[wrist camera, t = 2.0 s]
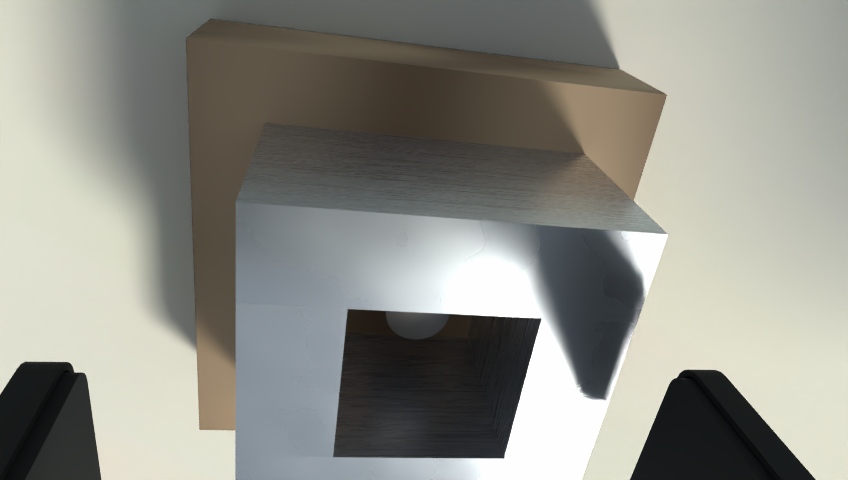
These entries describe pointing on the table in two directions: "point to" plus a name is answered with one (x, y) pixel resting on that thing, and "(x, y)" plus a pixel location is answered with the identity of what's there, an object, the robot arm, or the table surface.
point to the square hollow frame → (429, 307)
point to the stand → (384, 114)
